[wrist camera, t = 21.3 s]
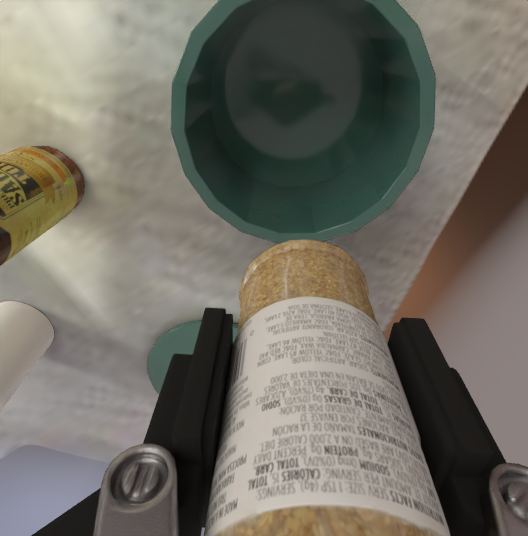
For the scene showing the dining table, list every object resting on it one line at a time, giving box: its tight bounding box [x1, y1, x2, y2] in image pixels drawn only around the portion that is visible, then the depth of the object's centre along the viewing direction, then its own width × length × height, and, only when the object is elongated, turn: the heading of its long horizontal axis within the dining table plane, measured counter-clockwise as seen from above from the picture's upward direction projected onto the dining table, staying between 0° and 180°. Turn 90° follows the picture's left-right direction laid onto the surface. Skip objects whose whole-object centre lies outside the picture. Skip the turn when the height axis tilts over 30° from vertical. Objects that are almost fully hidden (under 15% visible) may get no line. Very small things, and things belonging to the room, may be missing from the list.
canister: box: [171, 0, 436, 244], centre depth 26 cm, size 15×15×10 cm
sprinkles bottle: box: [204, 239, 451, 536], centre depth 8 cm, size 5×5×13 cm
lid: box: [147, 320, 239, 394], centre depth 42 cm, size 16×16×6 cm
